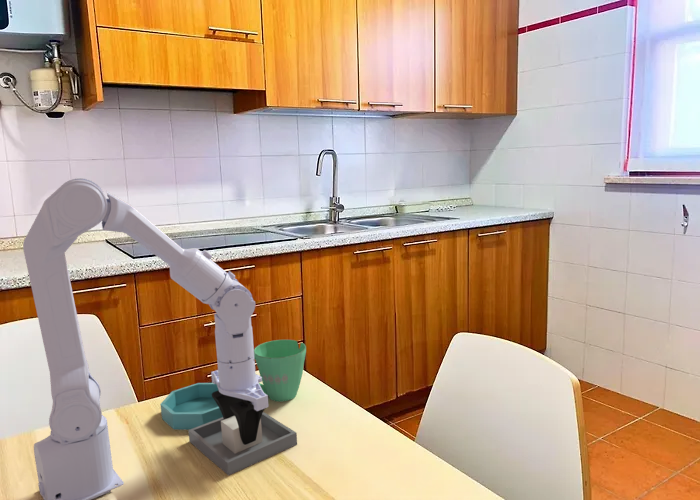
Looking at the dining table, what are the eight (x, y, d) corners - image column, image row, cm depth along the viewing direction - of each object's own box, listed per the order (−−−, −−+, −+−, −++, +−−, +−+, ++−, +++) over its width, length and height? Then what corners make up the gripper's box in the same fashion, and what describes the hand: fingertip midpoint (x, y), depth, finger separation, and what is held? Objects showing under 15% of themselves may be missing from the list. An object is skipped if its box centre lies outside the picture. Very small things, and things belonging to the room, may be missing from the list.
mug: (314, 388, 109) (311, 340, 107) (300, 411, 100) (297, 359, 98) (245, 384, 112) (241, 338, 110) (225, 406, 103) (220, 356, 101)
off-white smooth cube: (234, 453, 85) (232, 429, 85) (222, 443, 88) (220, 420, 88) (262, 441, 88) (260, 418, 88) (249, 432, 92) (248, 410, 91)
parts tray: (228, 478, 80) (227, 462, 79) (189, 444, 90) (188, 430, 89) (297, 447, 87) (296, 432, 87) (254, 418, 97) (253, 405, 97)
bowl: (183, 439, 91) (181, 421, 90) (154, 414, 101) (152, 397, 100) (249, 414, 99) (248, 397, 98) (217, 393, 109) (215, 377, 108)
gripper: (282, 361, 83) (288, 444, 85) (235, 339, 94) (241, 413, 96) (241, 375, 78) (248, 462, 81) (197, 350, 89) (204, 427, 92)
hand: (242, 436), depth 88 cm, fingers closed on off-white smooth cube, 4 cm apart
